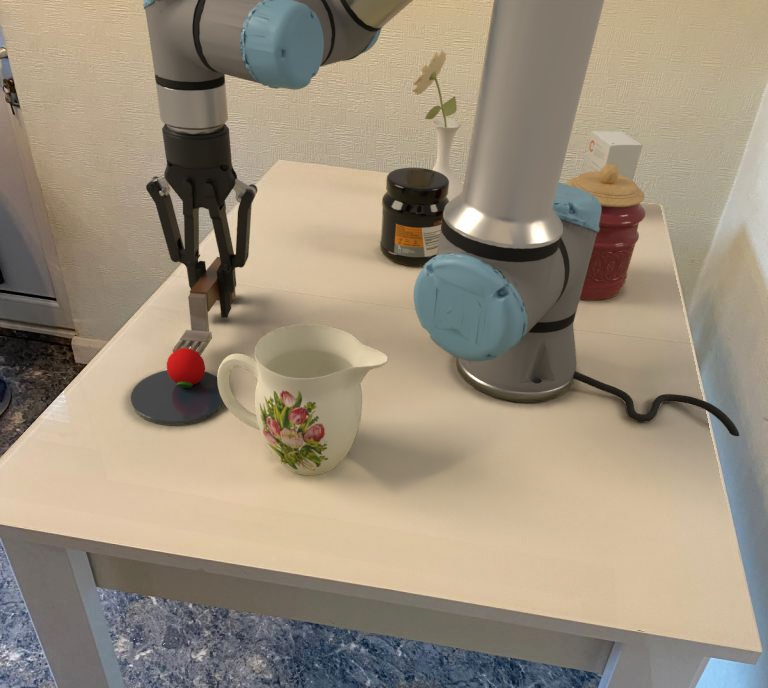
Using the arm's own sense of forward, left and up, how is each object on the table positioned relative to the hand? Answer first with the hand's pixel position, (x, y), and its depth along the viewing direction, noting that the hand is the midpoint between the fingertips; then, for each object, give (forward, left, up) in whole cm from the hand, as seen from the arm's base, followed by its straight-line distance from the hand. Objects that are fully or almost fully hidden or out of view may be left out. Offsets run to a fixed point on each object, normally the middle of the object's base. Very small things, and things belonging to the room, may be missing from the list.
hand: (215, 311), depth 100 cm
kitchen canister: (-35, -45, -1) cm, 57 cm away
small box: (-26, -75, -1) cm, 79 cm away
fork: (-2, +3, 0) cm, 4 cm away
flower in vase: (-1, -57, -1) cm, 57 cm away
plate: (-9, +16, -1) cm, 19 cm away
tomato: (-8, +13, +3) cm, 15 cm away
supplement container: (-9, -36, -1) cm, 37 cm away
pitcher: (-27, +16, -1) cm, 32 cm away
